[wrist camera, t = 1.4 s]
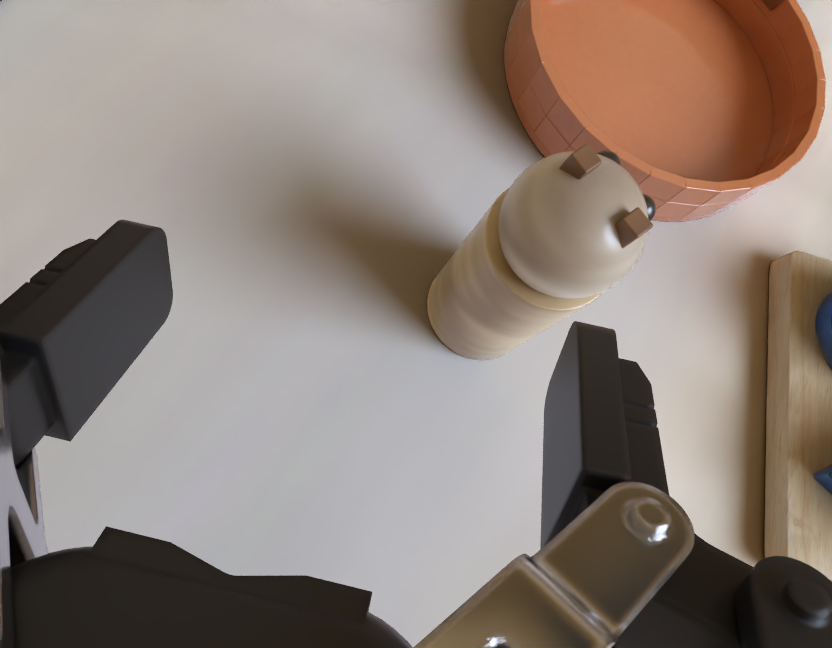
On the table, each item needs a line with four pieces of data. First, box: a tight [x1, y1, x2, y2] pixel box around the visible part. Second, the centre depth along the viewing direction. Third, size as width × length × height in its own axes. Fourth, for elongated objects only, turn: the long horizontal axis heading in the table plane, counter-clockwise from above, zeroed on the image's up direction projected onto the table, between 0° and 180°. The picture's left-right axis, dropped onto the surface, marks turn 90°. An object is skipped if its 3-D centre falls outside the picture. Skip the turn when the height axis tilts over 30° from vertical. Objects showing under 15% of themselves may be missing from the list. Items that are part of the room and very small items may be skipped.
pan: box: [504, 0, 826, 222], centre depth 38 cm, size 18×18×4 cm
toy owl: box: [427, 144, 656, 360], centre depth 27 cm, size 5×6×14 cm
